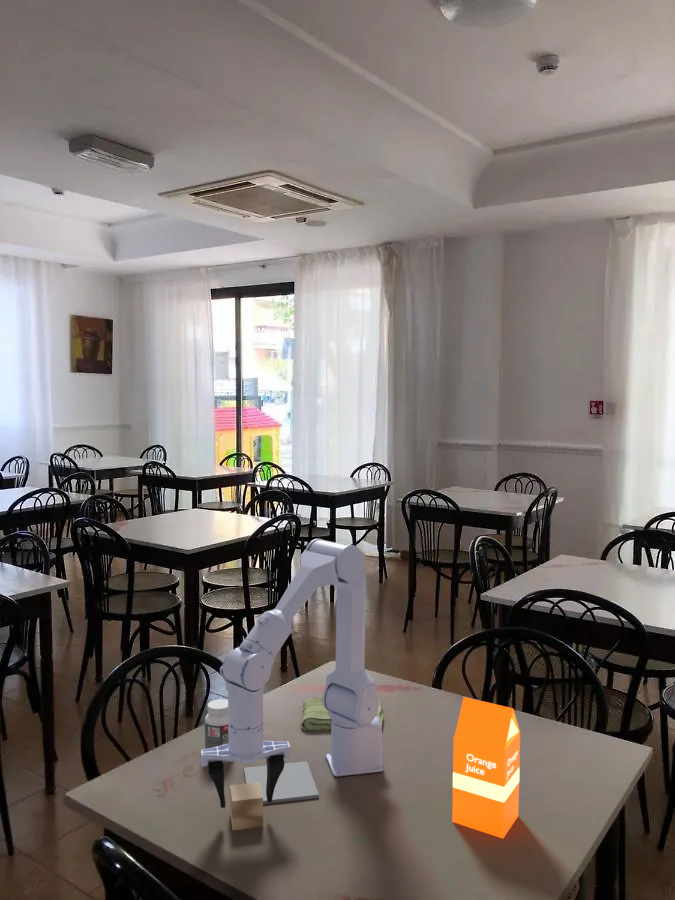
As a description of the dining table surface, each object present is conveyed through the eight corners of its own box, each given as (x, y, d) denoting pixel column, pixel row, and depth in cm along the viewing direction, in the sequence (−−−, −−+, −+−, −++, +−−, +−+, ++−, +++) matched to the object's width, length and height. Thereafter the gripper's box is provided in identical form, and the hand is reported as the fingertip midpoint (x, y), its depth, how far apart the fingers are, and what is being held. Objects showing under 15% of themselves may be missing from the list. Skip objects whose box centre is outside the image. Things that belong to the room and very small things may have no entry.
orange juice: (503, 839, 118) (505, 717, 116) (451, 822, 122) (453, 704, 121) (519, 815, 124) (521, 699, 123) (469, 800, 129) (471, 688, 127)
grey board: (307, 764, 141) (306, 761, 141) (318, 797, 130) (318, 794, 130) (243, 770, 139) (243, 767, 139) (250, 805, 127) (250, 802, 127)
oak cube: (259, 810, 126) (259, 782, 125) (263, 827, 121) (263, 797, 121) (230, 813, 125) (229, 785, 124) (232, 830, 120) (232, 801, 120)
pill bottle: (228, 761, 142) (228, 711, 141) (200, 758, 143) (200, 708, 143) (238, 747, 148) (238, 699, 147) (211, 744, 149) (210, 696, 148)
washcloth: (384, 734, 155) (384, 719, 154) (300, 734, 155) (300, 719, 154) (381, 707, 168) (381, 693, 168) (303, 707, 168) (303, 693, 168)
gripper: (201, 737, 116) (202, 820, 117) (293, 728, 119) (293, 810, 120) (200, 718, 123) (200, 796, 124) (286, 710, 126) (286, 787, 127)
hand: (246, 801), depth 123 cm, fingers open, 7 cm apart
